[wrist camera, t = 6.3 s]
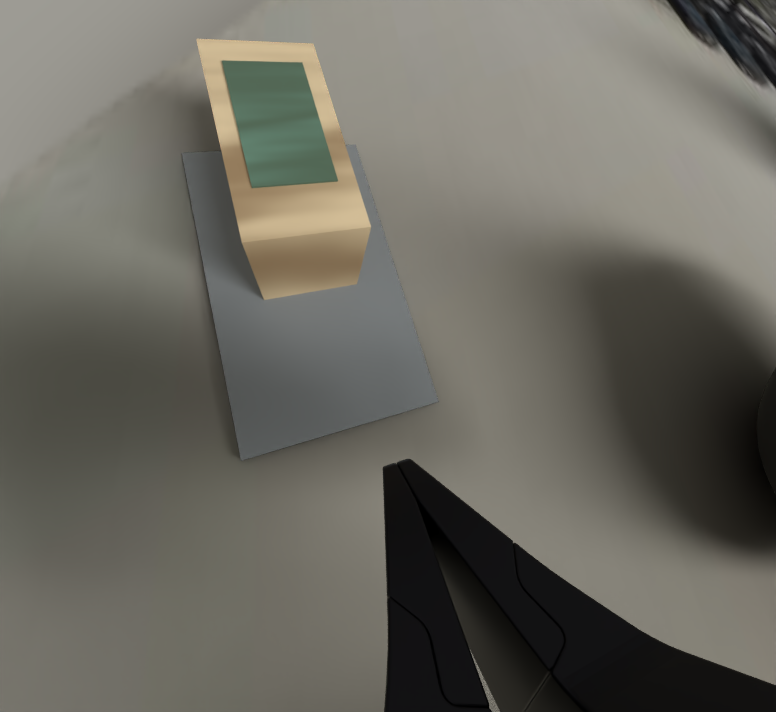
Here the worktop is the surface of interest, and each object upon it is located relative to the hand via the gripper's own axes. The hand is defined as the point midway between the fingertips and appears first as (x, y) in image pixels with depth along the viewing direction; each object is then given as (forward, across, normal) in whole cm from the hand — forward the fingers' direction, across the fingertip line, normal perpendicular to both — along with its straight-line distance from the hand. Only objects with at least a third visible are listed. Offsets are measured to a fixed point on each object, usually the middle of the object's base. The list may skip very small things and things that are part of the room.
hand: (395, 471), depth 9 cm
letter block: (+9, +1, -4) cm, 10 cm away
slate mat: (+12, +1, -2) cm, 12 cm away
